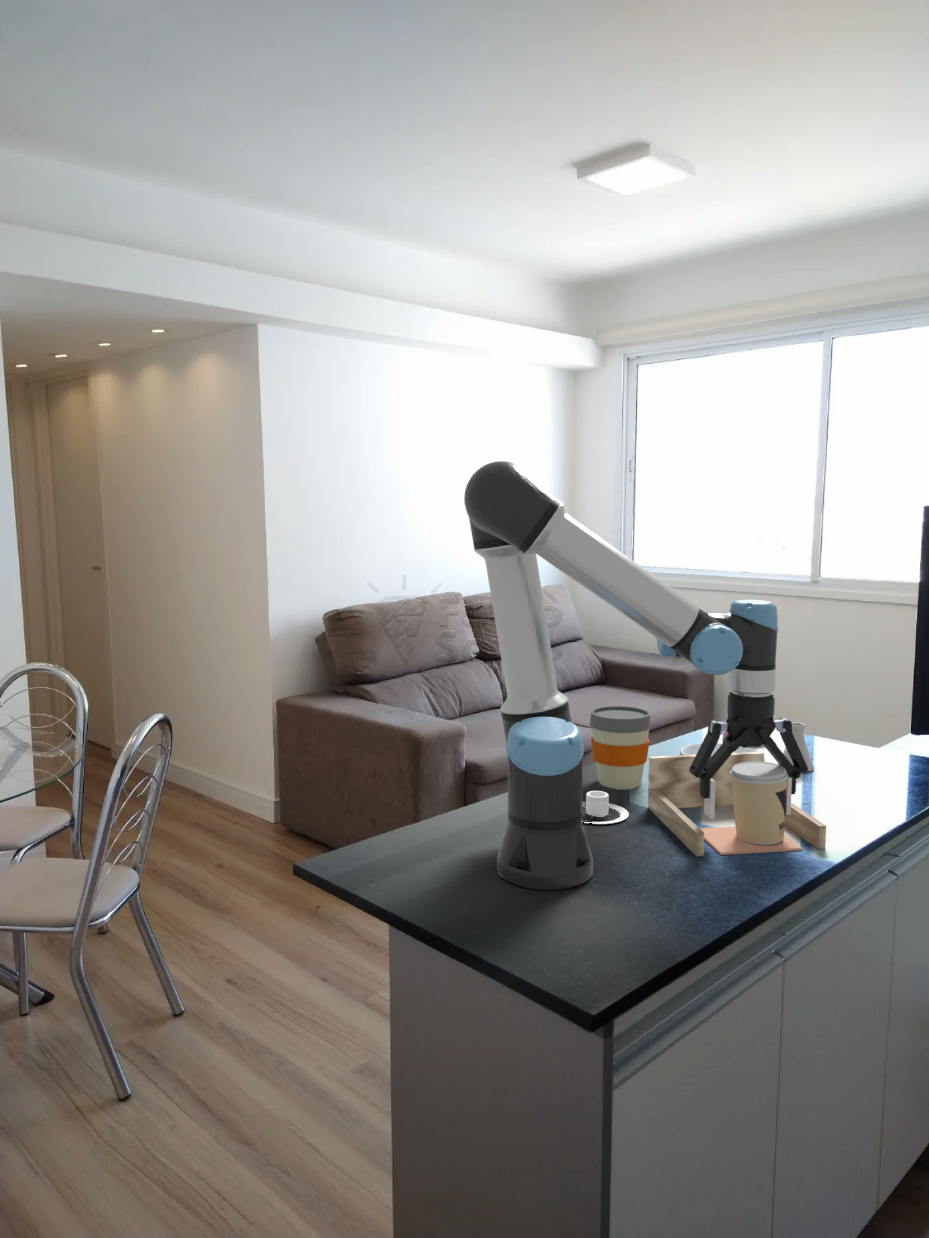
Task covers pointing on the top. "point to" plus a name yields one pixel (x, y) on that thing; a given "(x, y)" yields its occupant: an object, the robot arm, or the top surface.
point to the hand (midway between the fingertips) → (747, 814)
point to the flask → (800, 745)
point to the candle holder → (602, 807)
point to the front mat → (742, 842)
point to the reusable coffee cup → (620, 745)
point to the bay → (682, 790)
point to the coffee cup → (759, 801)
